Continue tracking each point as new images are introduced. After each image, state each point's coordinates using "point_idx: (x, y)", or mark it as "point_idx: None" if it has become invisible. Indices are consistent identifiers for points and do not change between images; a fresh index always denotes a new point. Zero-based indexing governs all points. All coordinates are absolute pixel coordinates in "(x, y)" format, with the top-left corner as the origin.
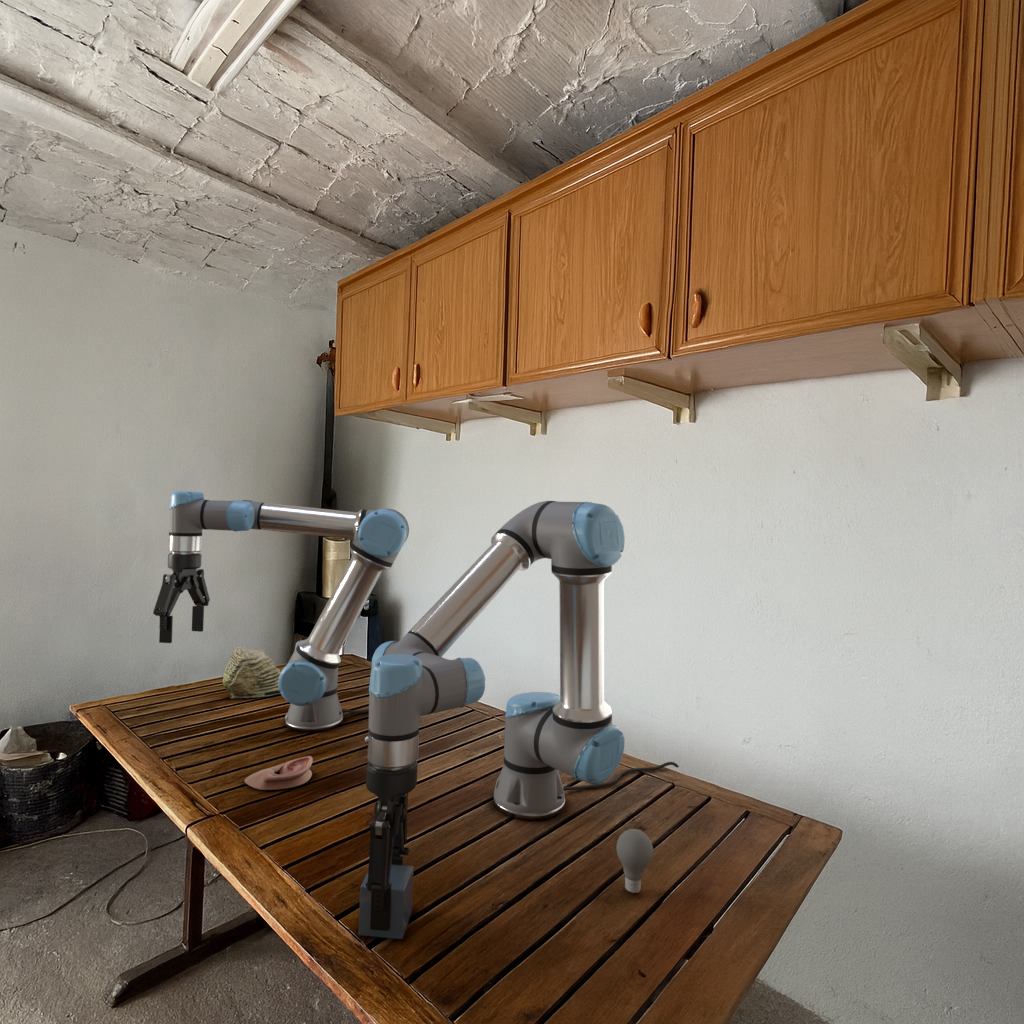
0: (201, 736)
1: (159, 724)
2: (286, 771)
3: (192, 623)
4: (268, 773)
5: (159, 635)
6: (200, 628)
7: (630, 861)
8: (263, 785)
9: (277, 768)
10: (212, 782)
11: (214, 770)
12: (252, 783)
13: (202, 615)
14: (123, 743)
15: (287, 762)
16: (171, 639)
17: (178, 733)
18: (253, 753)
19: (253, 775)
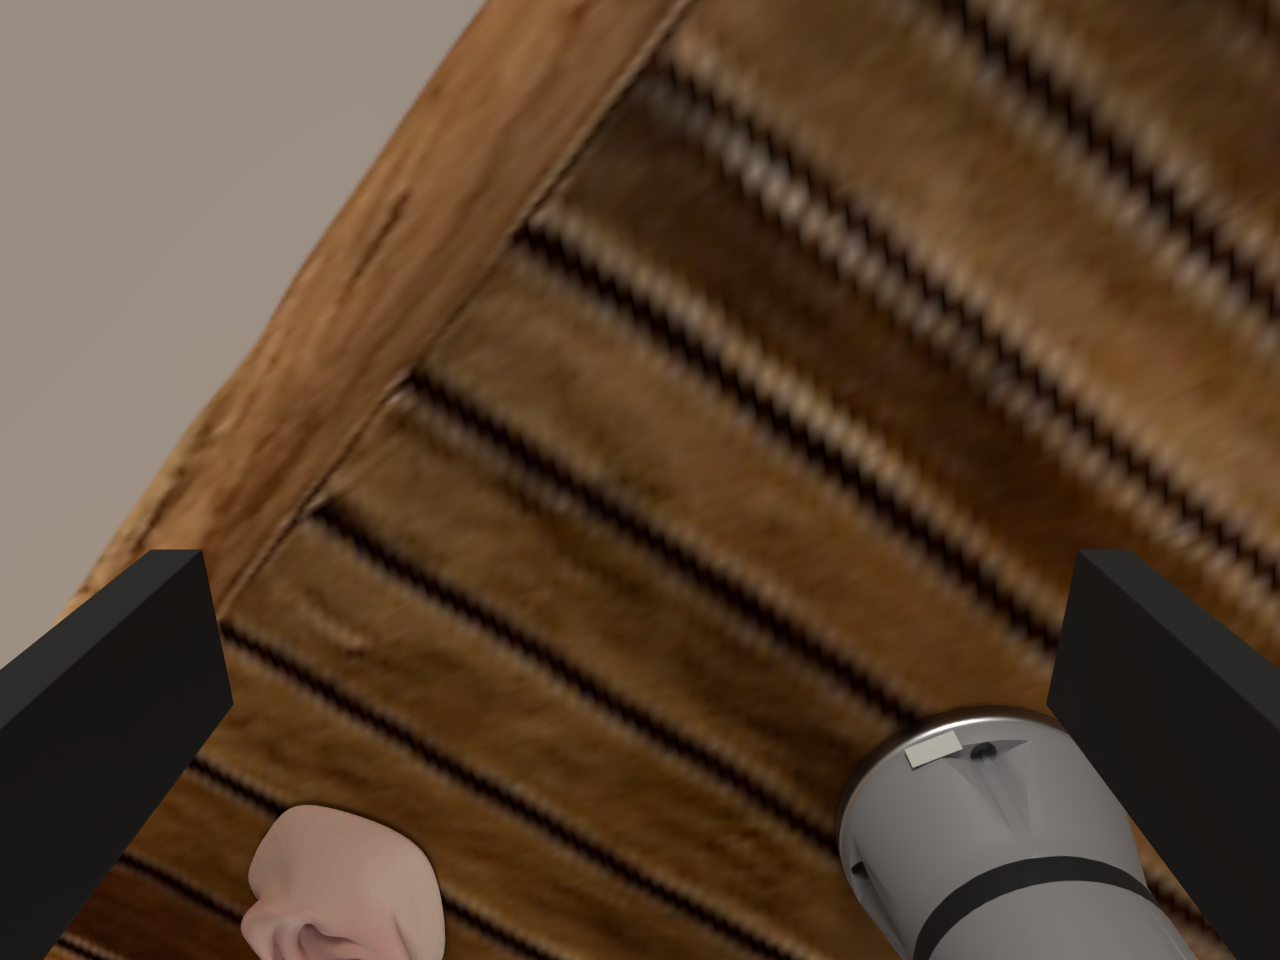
0: (721, 402)
1: (882, 34)
2: (327, 956)
3: (1150, 632)
4: (268, 926)
5: (79, 608)
6: (1074, 720)
7: None
8: (256, 892)
9: (326, 932)
10: (258, 701)
11: (359, 657)
12: (263, 851)
13: (1233, 934)
14: (542, 20)
15: (375, 951)
16: (198, 735)
17: (746, 252)
18: (563, 721)
19: (298, 847)
